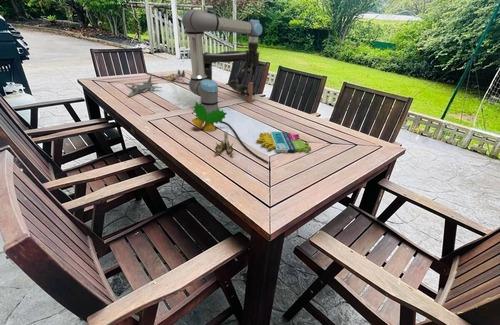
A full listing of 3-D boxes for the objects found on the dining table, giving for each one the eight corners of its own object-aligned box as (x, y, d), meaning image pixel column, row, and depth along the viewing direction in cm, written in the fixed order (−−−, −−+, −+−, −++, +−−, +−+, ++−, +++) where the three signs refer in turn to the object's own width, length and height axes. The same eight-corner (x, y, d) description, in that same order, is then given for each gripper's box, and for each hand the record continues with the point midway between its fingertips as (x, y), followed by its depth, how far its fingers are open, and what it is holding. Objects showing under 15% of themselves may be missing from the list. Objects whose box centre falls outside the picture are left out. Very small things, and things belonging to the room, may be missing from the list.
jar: (246, 101, 223) (247, 82, 216) (251, 100, 225) (252, 82, 217) (247, 102, 220) (248, 83, 212) (252, 102, 221) (254, 83, 213)
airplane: (122, 86, 237) (119, 75, 232) (157, 84, 250) (156, 74, 245) (126, 99, 209) (123, 86, 204) (166, 96, 222) (165, 84, 217)
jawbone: (234, 135, 144) (233, 125, 135) (233, 160, 138) (232, 151, 129) (217, 135, 144) (216, 125, 135) (216, 160, 138) (214, 150, 129)
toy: (193, 71, 287) (180, 75, 262) (193, 77, 291) (181, 82, 265) (170, 68, 292) (155, 72, 266) (170, 75, 296) (156, 79, 270)
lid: (256, 71, 210) (256, 68, 209) (251, 71, 206) (251, 69, 205) (251, 70, 213) (251, 67, 212) (246, 70, 210) (246, 67, 209)
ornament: (218, 133, 171) (224, 110, 169) (221, 134, 163) (227, 111, 161) (186, 125, 162) (192, 101, 160) (189, 126, 155) (195, 101, 153)
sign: (313, 150, 142) (258, 149, 139) (312, 153, 143) (258, 152, 140) (301, 132, 164) (254, 130, 161) (301, 134, 165) (254, 133, 162)
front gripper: (265, 44, 196) (262, 75, 207) (249, 41, 208) (247, 71, 219) (257, 44, 192) (255, 76, 203) (241, 41, 203) (240, 72, 214)
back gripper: (235, 85, 225) (244, 90, 212) (249, 84, 231) (259, 89, 218) (234, 94, 228) (243, 99, 216) (249, 93, 235) (258, 98, 222)
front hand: (251, 74), depth 211 cm, fingers closed on lid, 5 cm apart
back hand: (251, 94), depth 217 cm, fingers closed on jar, 4 cm apart
